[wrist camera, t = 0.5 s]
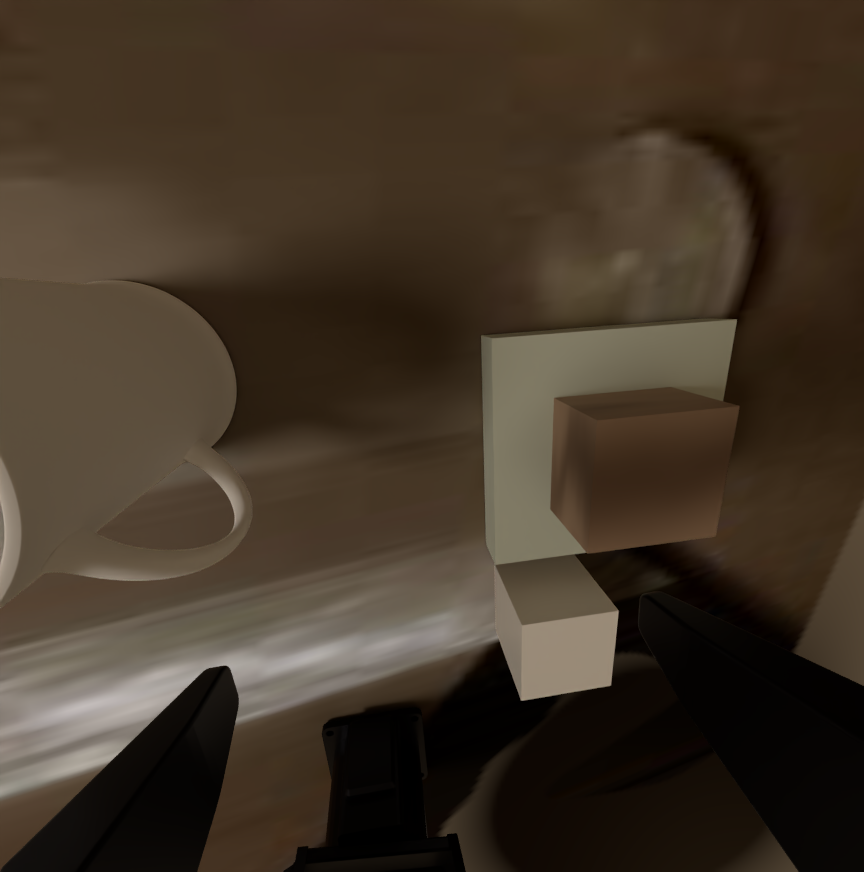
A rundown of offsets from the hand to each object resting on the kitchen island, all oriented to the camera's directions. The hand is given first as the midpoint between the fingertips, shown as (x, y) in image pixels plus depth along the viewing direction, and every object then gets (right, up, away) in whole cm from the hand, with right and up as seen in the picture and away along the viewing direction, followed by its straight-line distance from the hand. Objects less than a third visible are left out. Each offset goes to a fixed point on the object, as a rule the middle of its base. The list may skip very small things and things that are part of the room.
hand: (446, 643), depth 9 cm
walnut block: (+9, +4, +12) cm, 15 cm away
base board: (+8, +4, +14) cm, 17 cm away
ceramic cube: (+6, -5, +17) cm, 18 cm away
